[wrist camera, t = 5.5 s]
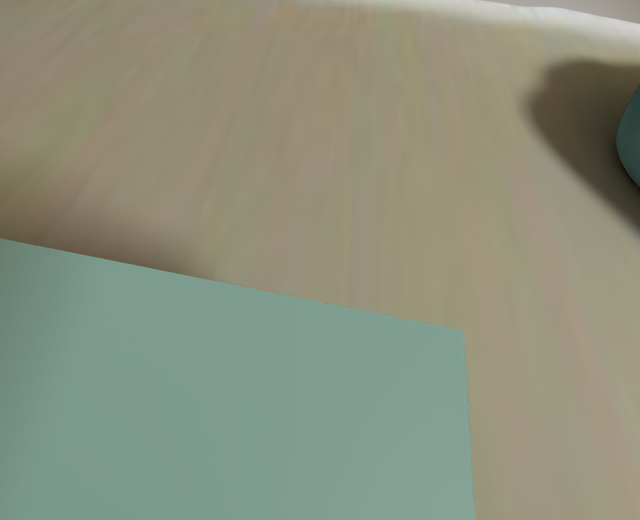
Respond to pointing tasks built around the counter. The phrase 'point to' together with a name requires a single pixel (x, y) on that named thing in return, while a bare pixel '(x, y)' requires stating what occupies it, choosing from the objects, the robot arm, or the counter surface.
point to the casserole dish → (630, 138)
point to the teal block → (219, 401)
